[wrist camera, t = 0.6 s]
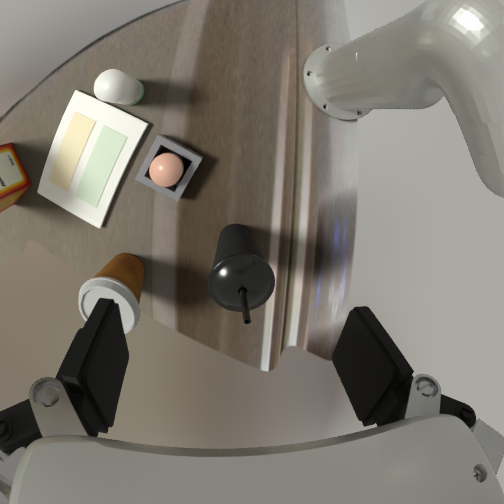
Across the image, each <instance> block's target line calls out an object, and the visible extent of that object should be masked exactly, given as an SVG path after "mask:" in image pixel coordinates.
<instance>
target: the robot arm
mask: <svg viewBox="0 0 504 504" xmlns="http://www.w3.org/2000/svg"><path fill="white" fill-rule="evenodd" d="M326 49H327V50H328V51H327V50H326ZM307 73H309V76H308V75H307ZM303 83H304V88H305V90H306V93H307V95H308V96H309V98H310V100H311V101H312V102H313V103H314V105H315V106H316V107H317V108H318V109H320V110H321V111H322V112H323V113H325V114H327V115H329V116H331V117H334V118H336V119H342V120H353V119H358V118H361V117H363V116H365V115H366V114H368V113H369V112H370V111H371V110H372V109H423V108H427V107H430V106H432V105H434V104H435V103H437V102H438V101H439V100H440V99H441V98H442V97H443V96H444V95H445V97H446V99H447V101H448V103H449V104H450V107H451V109H452V111H453V113H454V114H455V116H456V118H457V120H458V123H459V125H460V127H461V130H462V133H463V135H464V137H465V140H466V143H467V146H468V148H469V151H470V154H471V157H472V160H473V162H474V165H475V168H476V171H477V172H478V175H479V177H480V179H481V180H482V182H483V183H484V184H485V186H486V187H487V188H488V189H489V190H490V191H492V192H493V193H494V194H496V195H498V196H500V197H503V198H504V6H503V5H502V4H501V3H500V2H499V1H497V0H426V1H425V2H424V3H422V4H421V5H419V6H418V7H416V8H415V9H413V10H412V11H410V12H409V13H407V14H405V15H404V16H403V17H400V18H398V19H396V20H394V21H392V22H390V23H388V24H386V25H384V26H382V27H380V28H377V29H375V30H374V31H372V32H370V33H367V34H365V35H363V36H361V37H359V38H357V39H355V40H353V41H351V42H349V43H348V44H346V45H345V44H338V43H332V44H326V45H323V46H321V47H319V48H317V49H316V50H315V51H313V52H312V53H311V54H310V55H309V57H308V58H307V60H306V62H305V64H304V68H303ZM323 106H325V109H324V108H323ZM357 112H358V114H357ZM128 360H129V352H128V347H127V343H126V338H125V334H124V329H123V324H122V319H121V314H120V308H119V304H118V303H115V301H114V299H108V298H99V299H98V301H97V303H96V304H95V306H94V308H93V310H92V312H91V314H90V316H89V318H88V319H87V321H86V323H85V325H84V327H83V328H81V329H79V330H78V332H77V333H76V336H75V337H74V340H73V341H72V343H71V345H70V348H69V350H68V352H67V354H66V356H65V358H64V360H63V362H62V364H61V367H60V369H59V371H58V373H57V376H56V378H52V377H44V378H40V379H38V380H37V381H35V382H34V383H33V384H32V386H31V388H30V390H29V399H27V400H25V401H23V402H21V403H18V404H16V405H14V406H12V407H9V408H7V409H5V410H3V411H0V504H504V494H503V491H502V488H501V486H500V484H499V481H498V479H497V477H496V474H497V472H498V469H499V466H500V464H501V461H502V458H503V455H504V437H503V436H502V435H501V434H499V433H498V432H497V431H495V430H494V429H493V428H491V427H490V426H489V425H487V424H486V423H484V422H483V421H481V420H480V419H478V420H477V421H476V415H475V412H474V410H473V409H472V408H471V407H470V406H469V405H467V404H465V403H462V402H460V401H457V400H455V399H452V398H450V397H447V396H445V395H442V394H441V387H440V385H439V383H438V382H437V381H436V380H435V379H434V378H433V377H431V376H429V375H426V374H419V375H416V376H415V377H413V376H412V374H413V372H414V371H413V369H412V368H411V367H410V365H409V364H408V362H407V360H406V359H405V358H404V356H403V355H402V353H401V352H400V350H399V349H398V347H397V346H396V344H395V343H394V342H393V340H392V339H391V337H390V336H389V335H388V333H387V332H386V330H385V329H384V328H383V326H382V325H381V323H380V322H379V321H378V319H377V318H376V317H375V315H374V314H373V313H372V311H371V310H370V308H368V307H366V306H363V307H355V308H354V309H353V310H351V311H350V312H349V315H348V317H347V320H346V323H345V325H344V328H343V330H342V333H341V336H340V338H339V341H338V343H337V345H336V348H335V350H334V353H333V355H332V361H333V364H334V366H335V368H336V370H337V373H338V375H339V377H340V379H341V382H342V384H343V386H344V388H345V391H346V393H347V395H348V397H349V399H350V402H351V404H352V406H353V409H354V411H355V413H356V416H357V418H358V420H359V421H362V423H363V425H364V427H365V426H369V425H373V424H375V423H376V424H377V426H378V427H375V428H372V429H368V430H364V431H360V432H356V433H352V434H347V435H343V436H338V437H333V438H328V439H323V440H317V441H311V442H304V443H297V444H289V445H281V446H271V447H258V448H237V449H199V448H178V447H166V446H155V445H145V444H138V443H131V442H124V441H118V440H112V439H105V438H99V437H97V436H98V432H102V433H107V432H108V427H112V426H113V423H114V419H115V414H116V409H117V404H118V400H119V396H120V392H121V387H122V383H123V379H124V375H125V372H126V368H127V364H128Z"/></svg>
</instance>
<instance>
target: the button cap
mask: <svg viewBox="0 0 504 504" xmlns="http://www.w3.org/2000/svg"><path fill="white" fill-rule="evenodd" d="M149 172H150V177H151V179H152V180H153V181H154V182H155V183H156V184H157V185H159V186H163V187H168V186H172V185H174V184H175V183H176V182H177V181H178V180H179V179H180V177H181V176H182V174H183V172H184V163H183V161H182V159H181V158H180V157H179V156H178V155H177V154H175V153H171V152H167V153H163V154H161V155H159V156H157V157H156V158H155V159H154V160H153V161H152V163H151V165H150V169H149Z"/></svg>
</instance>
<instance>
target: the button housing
mask: <svg viewBox="0 0 504 504" xmlns="http://www.w3.org/2000/svg"><path fill="white" fill-rule="evenodd" d="M162 146H165V147H166V148H168V149H170V150H172V151H174V152H176V153H178V154H180V155H181V156H183V157H185V158H187V159H189V160H191V161H192V163H191V164H190V166H189V168H188V170H187V171H186V173H185V175H184V177H183V178H182V180H181V182H180V184H179V186H178V187H177V188H175V187H173V186H168V187H163V186H159V185H157V184H156V183H155V182H154V181H153V180H152V179H151V177H150V174H149V169H150V165H151V163H152V161H153V160H154V159H155V158H156V157H157V156H158V154H159V152H160V150H161V148H162ZM202 158H203V156H201V155H199V154H197V153H196V152H194V151H192V150H190V149H188V148H187V147H185V146H183V145H181V144H179V143H177V142H175V141H174V140H172V139H170V138H168V137H166V136H164V135H162V134H160V135H158V136H157V138H156V140H155V142H154V143H153V145H152V147H151V149H150V151H149V153H148V155H147V157H146V158H145V160H144V162H143V164H142V166H141V168H140V170H139V172H138V174H137V176H136V179H135V180H137V181H139V182H141V183H143V184H145V185H147V186H149V187H150V188H152V189H154V190H156V191H158V192H160V193H162V194H164V195H165V196H167V197H169V198H171V199H173V200H175V201H177V202H178V200H179V198H180V196H181V195H182V193H183V191H184V189H185V188H186V186H187V184H188V182H189V180H190V179H191V177H192V175H193V174H194V172H195V170H196V168H197V167H198V165H199V163H200V162H201V160H202Z"/></svg>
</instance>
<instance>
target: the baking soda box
mask: <svg viewBox="0 0 504 504" xmlns="http://www.w3.org/2000/svg"><path fill="white" fill-rule="evenodd" d="M30 186H31V182H30V180H29V178H28V176H27V174H26V172H25V170H24V168H23V166H22V164H21V162H20V160H19V158H18V156H17V154H16V152H15V150H14V147H13V145H12V143H8V144H3V145H0V212H2V211H4V210H5V209H7V208H9V207H10V206H12V205H14V204H15V203H16V201H17V200H18V199H19V198H20V197H21V196H22V194H23V193H24V192H25V191H26V190H27V189H28V188H29V187H30Z"/></svg>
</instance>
